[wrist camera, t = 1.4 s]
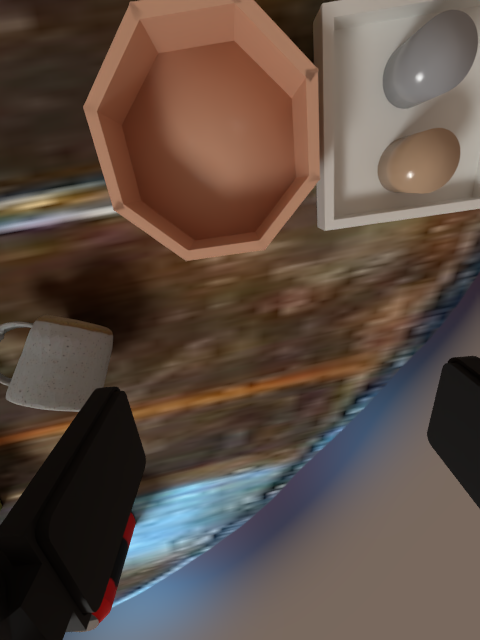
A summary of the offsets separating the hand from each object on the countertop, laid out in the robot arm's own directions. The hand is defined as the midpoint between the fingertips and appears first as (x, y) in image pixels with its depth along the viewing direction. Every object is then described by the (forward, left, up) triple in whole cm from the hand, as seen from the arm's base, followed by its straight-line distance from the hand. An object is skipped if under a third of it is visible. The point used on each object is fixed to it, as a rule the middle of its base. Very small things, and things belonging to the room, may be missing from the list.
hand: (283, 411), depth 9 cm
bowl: (-9, -2, -22) cm, 24 cm away
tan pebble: (-6, +15, -22) cm, 27 cm away
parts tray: (-9, +15, -22) cm, 28 cm away
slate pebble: (-12, +15, -22) cm, 29 cm away
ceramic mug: (+6, -20, -23) cm, 31 cm away
